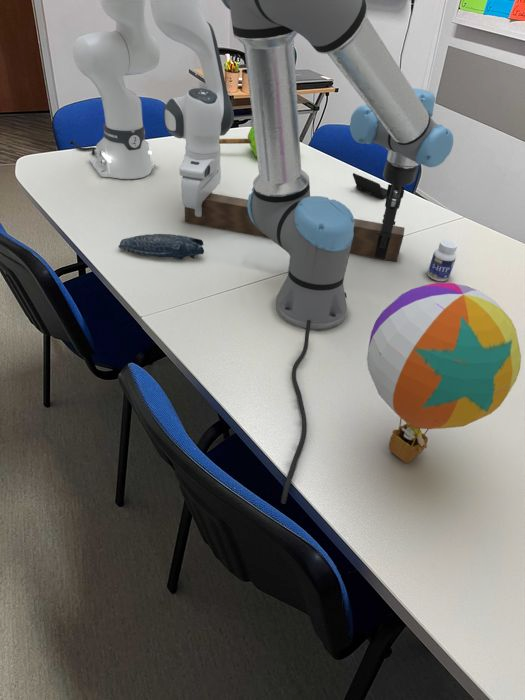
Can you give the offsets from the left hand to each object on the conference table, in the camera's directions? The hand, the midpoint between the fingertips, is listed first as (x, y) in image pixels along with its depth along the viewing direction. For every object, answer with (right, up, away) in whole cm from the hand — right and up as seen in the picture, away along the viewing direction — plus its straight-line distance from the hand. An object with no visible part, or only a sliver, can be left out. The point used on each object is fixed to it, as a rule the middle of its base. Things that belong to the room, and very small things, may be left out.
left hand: (202, 211), depth 141 cm
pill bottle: (+60, -20, -12) cm, 64 cm away
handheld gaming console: (+52, +13, +28) cm, 60 cm away
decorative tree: (+14, +33, +48) cm, 60 cm away
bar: (+23, -8, -2) cm, 25 cm away
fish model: (-9, -14, -14) cm, 21 cm away
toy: (+39, -54, -58) cm, 89 cm away
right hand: (+47, -12, -6) cm, 49 cm away
